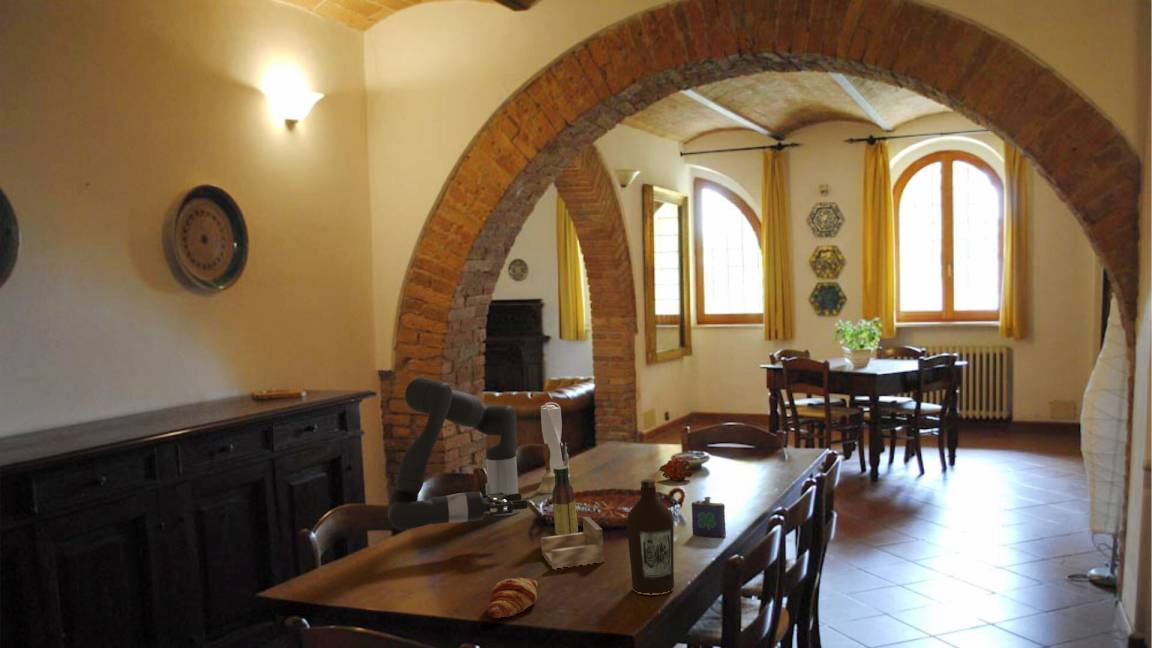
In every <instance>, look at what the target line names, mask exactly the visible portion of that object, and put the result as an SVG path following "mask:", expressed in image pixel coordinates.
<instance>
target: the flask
mask: <svg viewBox="0 0 1152 648" xmlns="http://www.w3.org/2000/svg"><path fill="white" fill-rule="evenodd" d="M711 498H712V497H710V496H705V497H704V500H699V499H698V500H697V501H693V502H691V514H692V515H691V520H692V521H691V523H692V525H691V526H692V528H691V529H692V536H694V537H699V538H700V537H701V538H711V539H712V538H714V539H715V538H716V539H724V538H726V537H727V536H726V535H727V531H726V515H725V510H726V508H725V507H726V506H725V504H724V503H721V502H719V503H718V502H717V503H715V502H711V501H710V499H711Z"/></svg>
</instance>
